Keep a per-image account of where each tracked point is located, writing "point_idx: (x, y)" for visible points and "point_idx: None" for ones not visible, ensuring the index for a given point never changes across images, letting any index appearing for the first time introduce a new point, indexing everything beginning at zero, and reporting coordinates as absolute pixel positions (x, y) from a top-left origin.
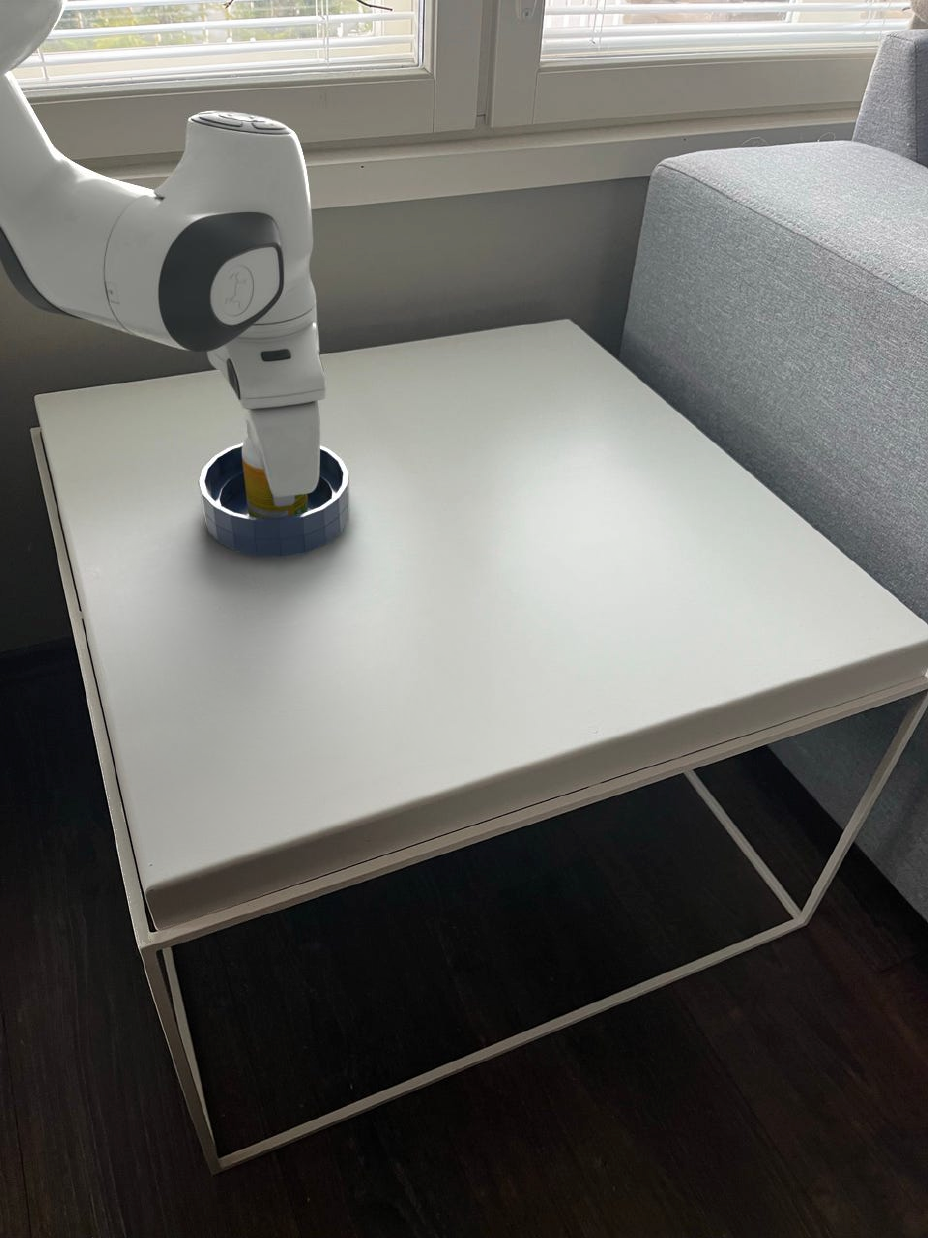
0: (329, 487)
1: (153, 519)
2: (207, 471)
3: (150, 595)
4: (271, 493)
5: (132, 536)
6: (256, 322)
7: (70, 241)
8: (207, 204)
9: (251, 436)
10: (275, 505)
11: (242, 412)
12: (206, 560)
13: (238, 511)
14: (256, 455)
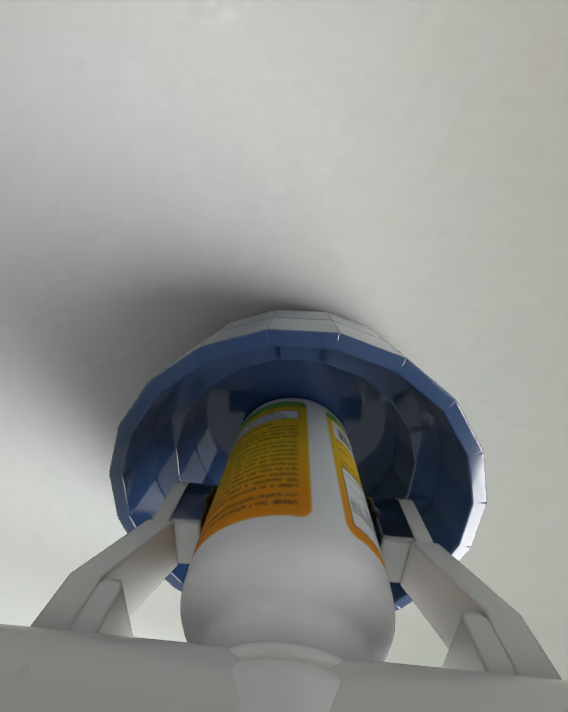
0: None
1: (382, 199)
2: (387, 368)
3: (112, 146)
4: (199, 494)
5: (335, 134)
6: None
7: None
8: None
9: (204, 703)
10: (176, 481)
11: (504, 694)
12: (204, 287)
13: (322, 380)
14: (212, 587)
